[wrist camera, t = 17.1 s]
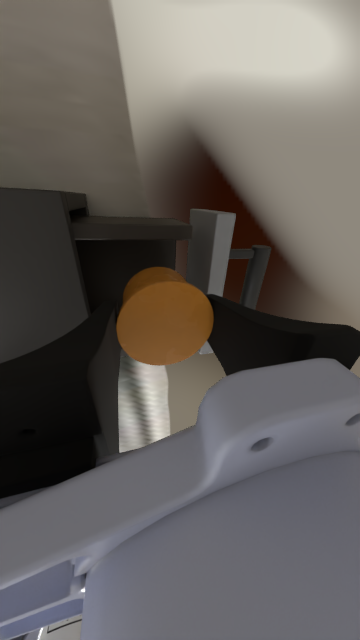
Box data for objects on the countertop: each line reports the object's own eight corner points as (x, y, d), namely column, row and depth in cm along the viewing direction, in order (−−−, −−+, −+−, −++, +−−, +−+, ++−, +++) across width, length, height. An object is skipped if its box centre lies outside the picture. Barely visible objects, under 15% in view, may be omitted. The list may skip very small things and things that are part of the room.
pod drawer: (252, 211, 17) (298, 216, 12) (230, 317, 22) (257, 347, 18) (23, 201, 13) (-28, 202, 8) (64, 333, 18) (46, 376, 14)
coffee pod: (208, 300, 14) (229, 327, 11) (154, 343, 15) (162, 378, 12) (162, 242, 11) (176, 257, 8) (99, 299, 12) (92, 330, 9)
